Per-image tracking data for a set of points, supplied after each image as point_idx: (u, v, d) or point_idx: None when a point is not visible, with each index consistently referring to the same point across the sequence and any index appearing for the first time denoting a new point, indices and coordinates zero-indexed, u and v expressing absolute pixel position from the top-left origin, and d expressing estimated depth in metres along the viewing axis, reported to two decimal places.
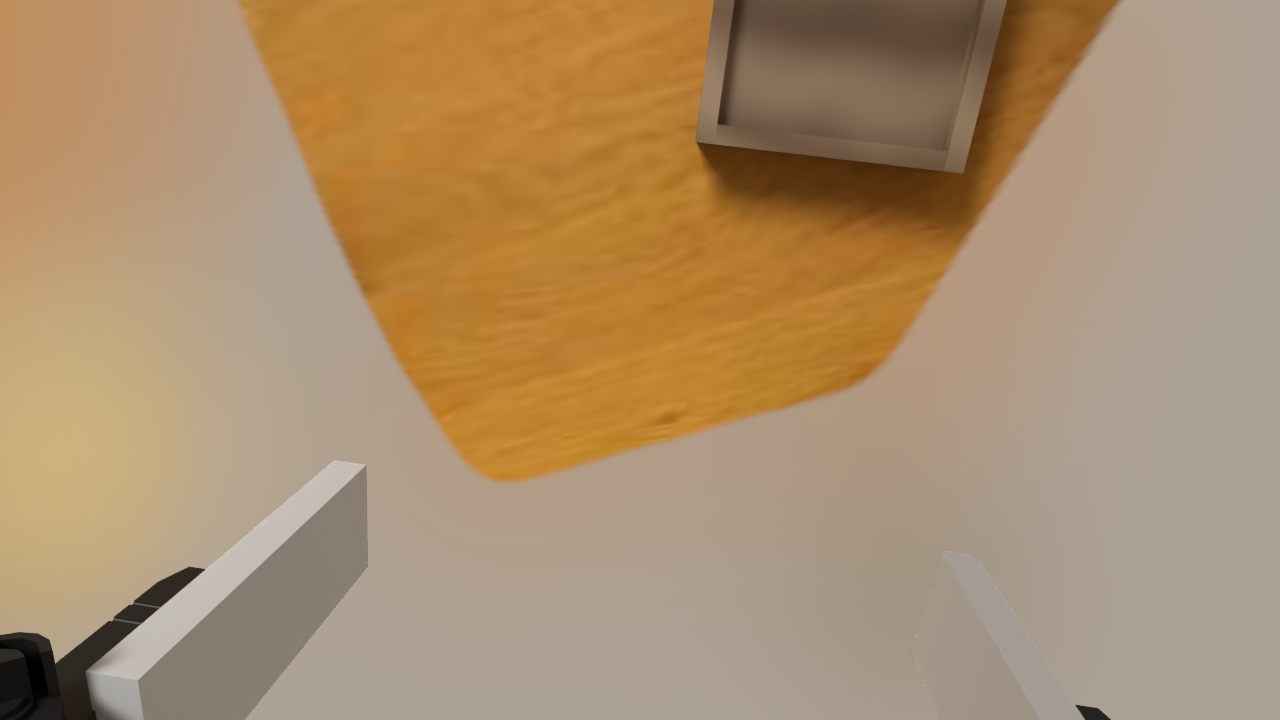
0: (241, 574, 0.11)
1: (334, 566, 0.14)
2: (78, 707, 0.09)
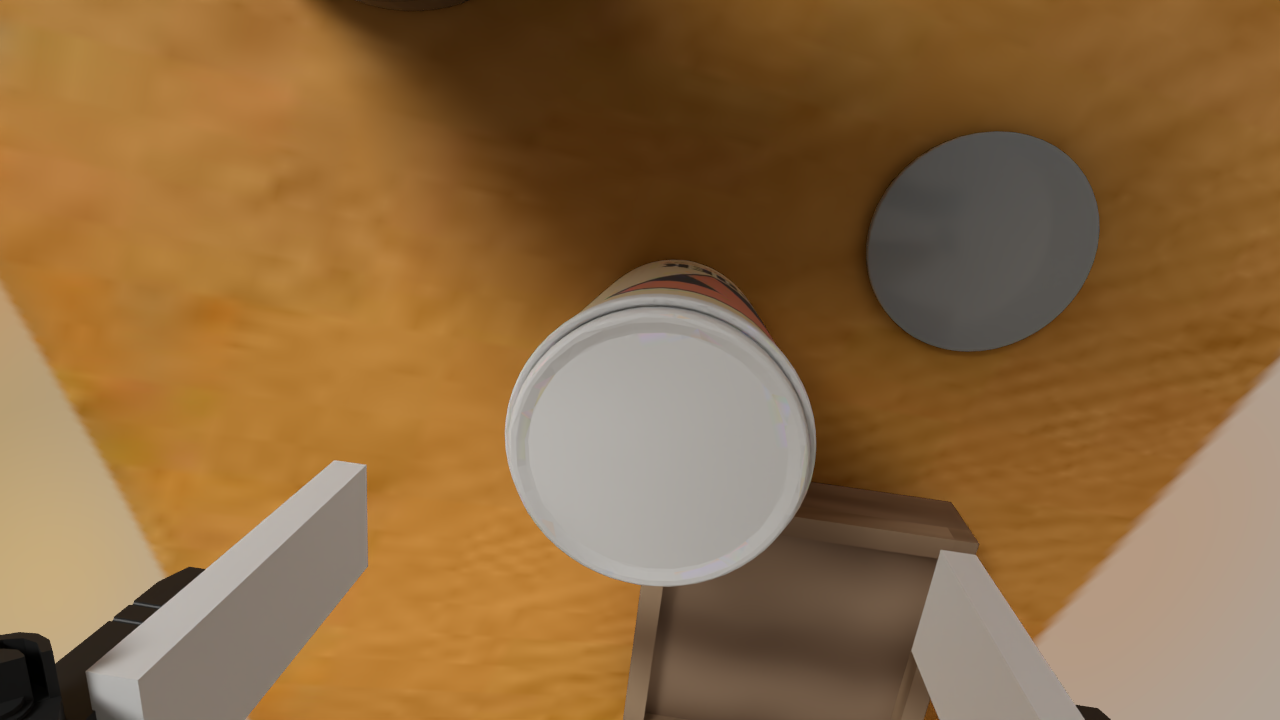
0: (241, 574, 0.11)
1: (334, 566, 0.14)
2: (78, 707, 0.09)
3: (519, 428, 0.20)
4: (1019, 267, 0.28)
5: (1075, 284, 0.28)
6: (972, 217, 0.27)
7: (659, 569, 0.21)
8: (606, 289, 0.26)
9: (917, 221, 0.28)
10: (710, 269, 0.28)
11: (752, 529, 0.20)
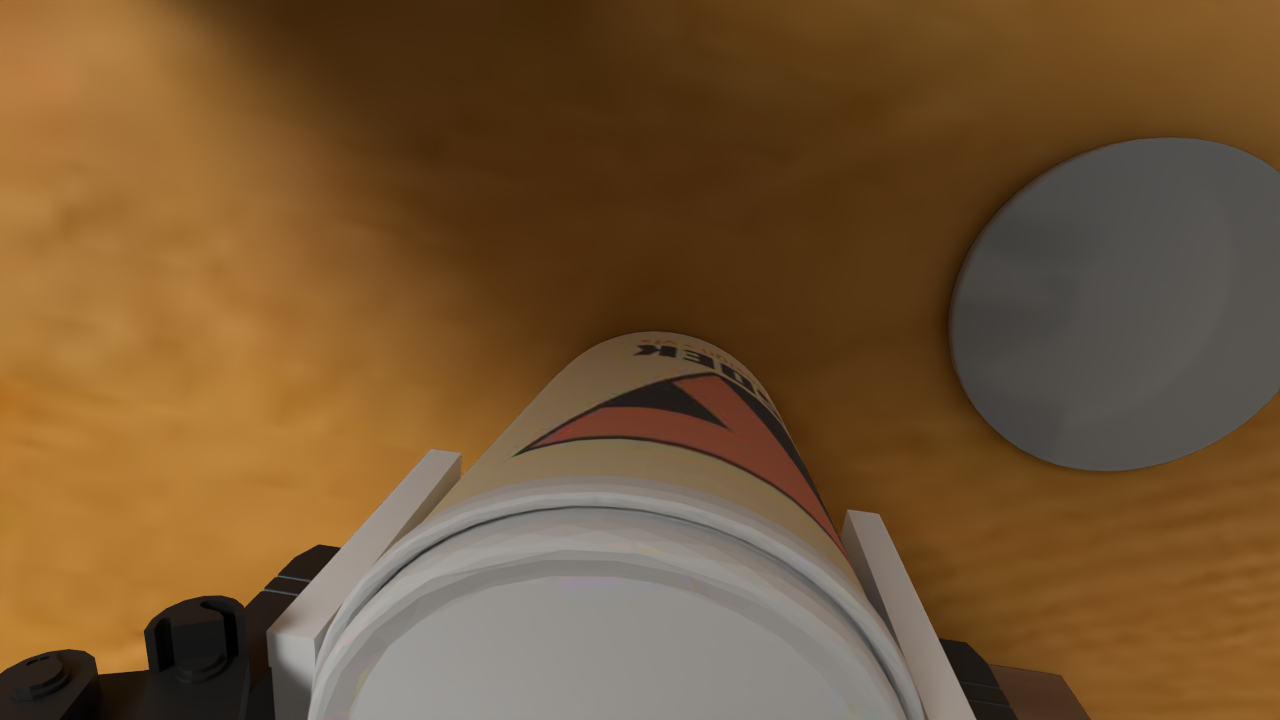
0: (376, 549, 0.12)
1: None
2: (256, 664, 0.10)
3: None
4: (1191, 348, 0.18)
5: (1279, 375, 0.18)
6: (1122, 272, 0.17)
7: None
8: (543, 393, 0.16)
9: (1033, 278, 0.18)
10: (711, 350, 0.18)
11: None
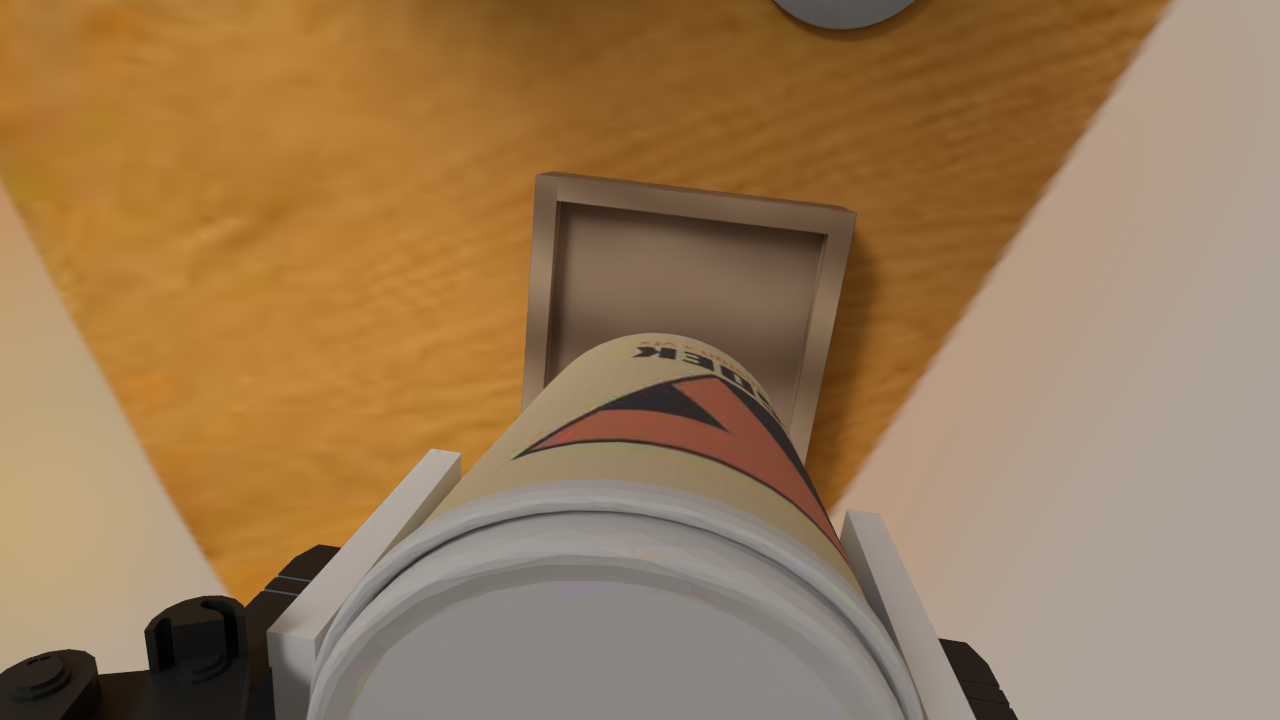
0: (377, 549, 0.12)
1: None
2: (256, 664, 0.10)
3: None
4: None
5: None
6: None
7: None
8: (542, 395, 0.16)
9: None
10: (710, 352, 0.18)
11: None
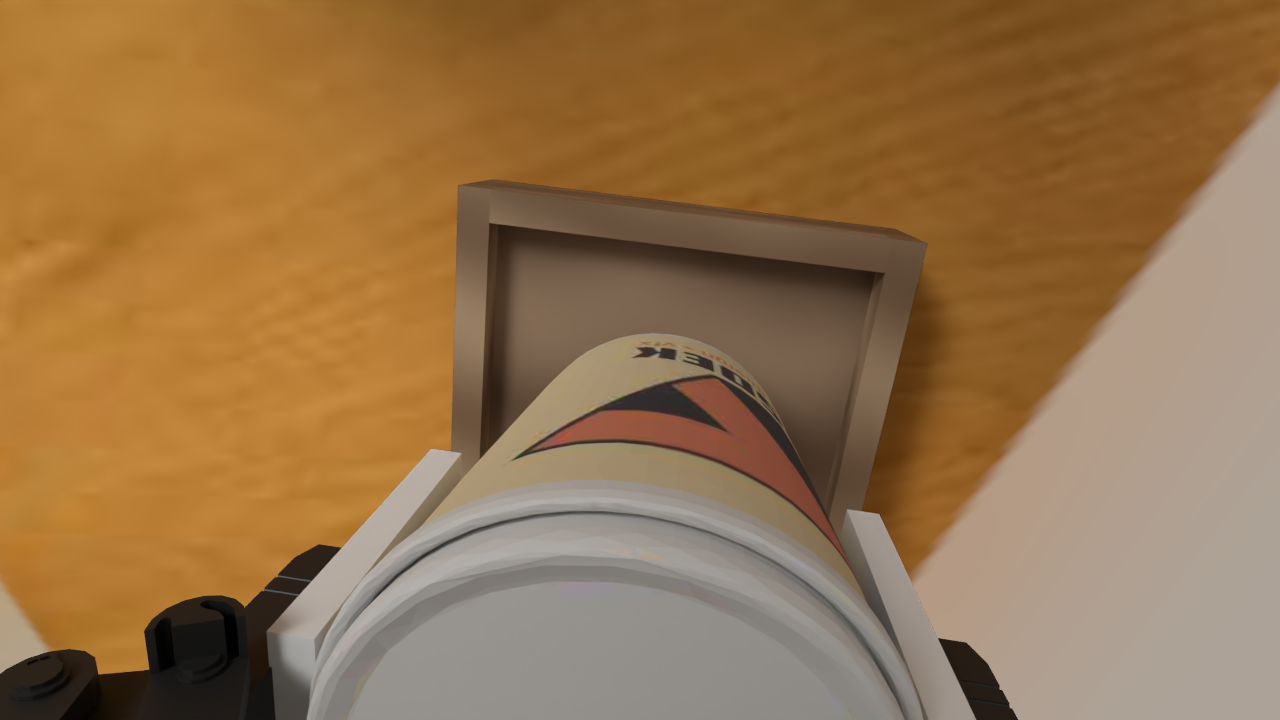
0: (376, 549, 0.12)
1: None
2: (256, 664, 0.10)
3: None
4: None
5: None
6: None
7: None
8: (542, 396, 0.16)
9: None
10: (710, 353, 0.18)
11: None
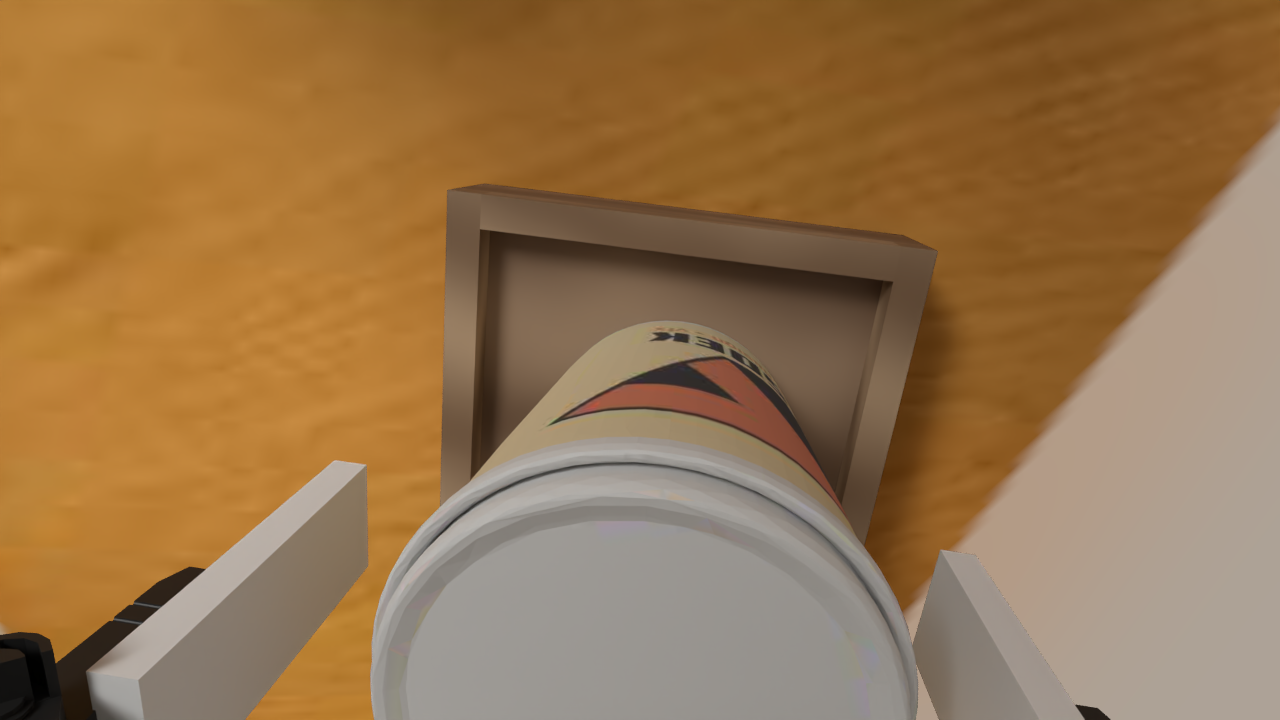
0: (241, 574, 0.11)
1: (334, 566, 0.14)
2: (78, 707, 0.09)
3: (388, 672, 0.11)
4: None
5: None
6: None
7: None
8: (566, 376, 0.18)
9: None
10: (720, 338, 0.20)
11: None
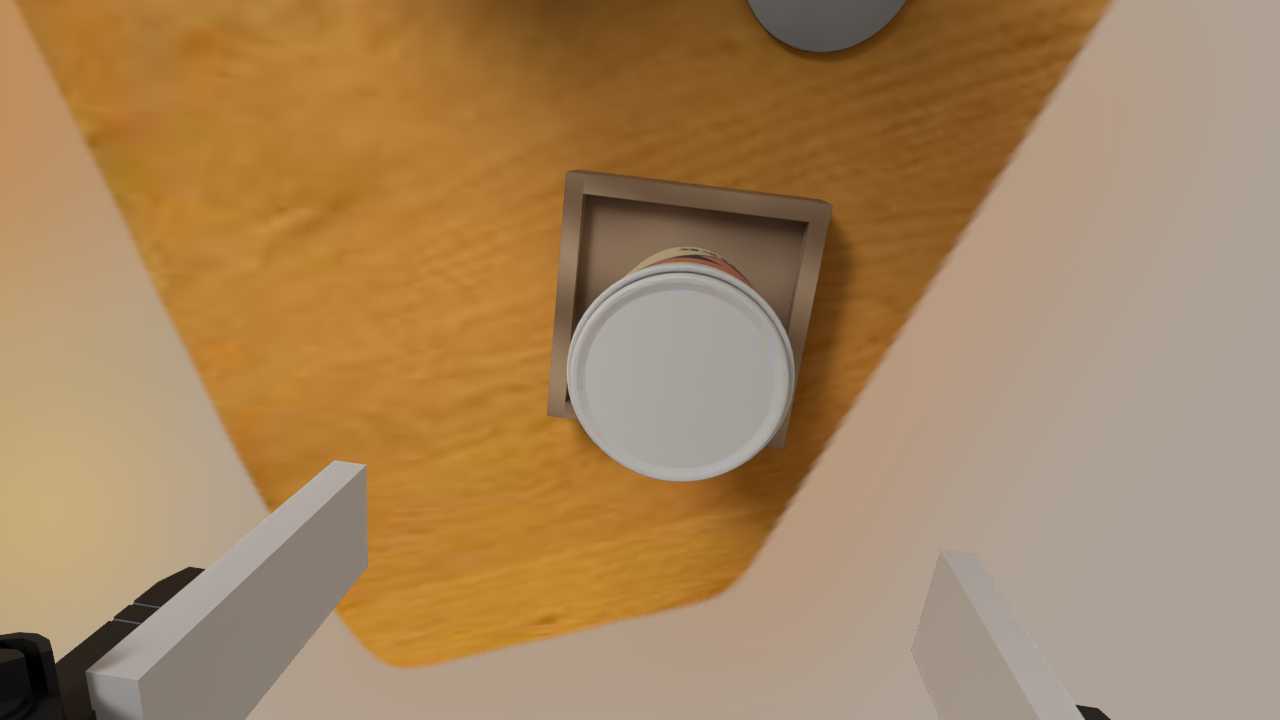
0: (241, 574, 0.11)
1: (334, 566, 0.14)
2: (77, 707, 0.09)
3: (579, 361, 0.27)
4: None
5: None
6: None
7: (680, 469, 0.28)
8: None
9: None
10: (715, 253, 0.36)
11: (748, 436, 0.28)
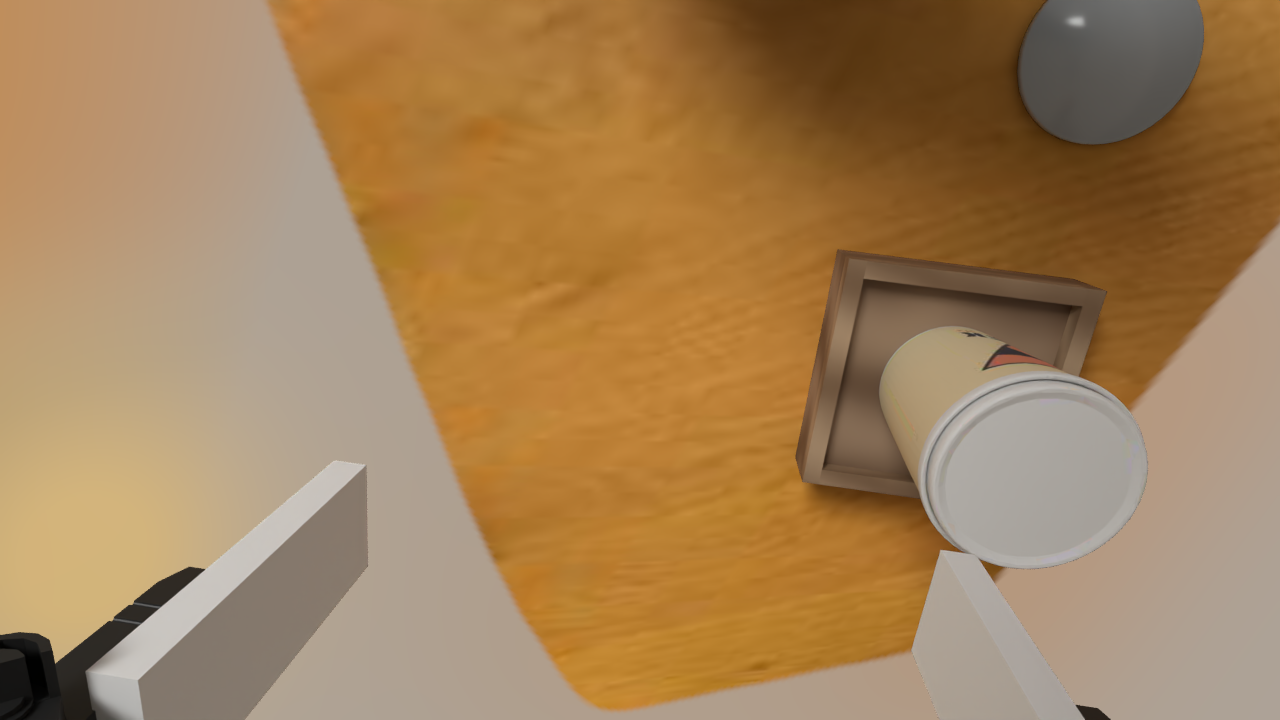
0: (241, 574, 0.11)
1: (334, 566, 0.14)
2: (78, 707, 0.09)
3: (944, 461, 0.29)
4: (1140, 72, 0.36)
5: (1183, 85, 0.36)
6: (1105, 31, 0.36)
7: (1025, 557, 0.30)
8: (930, 354, 0.36)
9: (1061, 36, 0.36)
10: None
11: (1097, 529, 0.30)
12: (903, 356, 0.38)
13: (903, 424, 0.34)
